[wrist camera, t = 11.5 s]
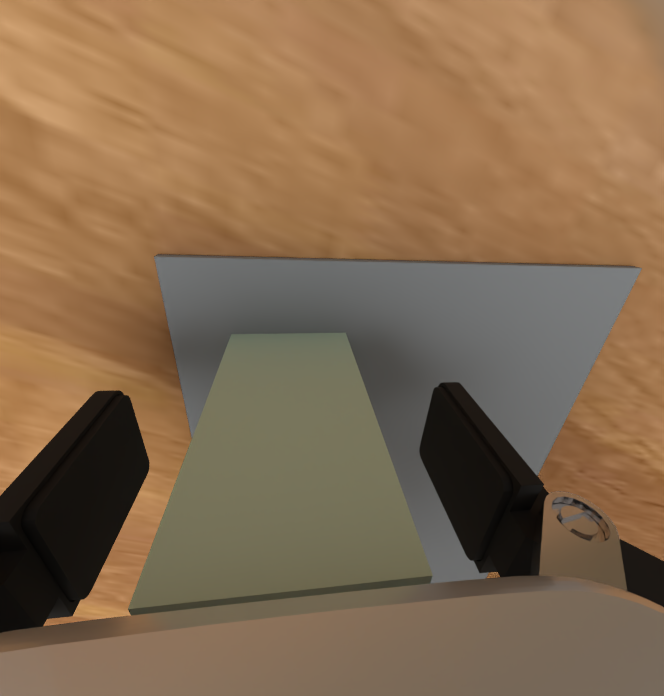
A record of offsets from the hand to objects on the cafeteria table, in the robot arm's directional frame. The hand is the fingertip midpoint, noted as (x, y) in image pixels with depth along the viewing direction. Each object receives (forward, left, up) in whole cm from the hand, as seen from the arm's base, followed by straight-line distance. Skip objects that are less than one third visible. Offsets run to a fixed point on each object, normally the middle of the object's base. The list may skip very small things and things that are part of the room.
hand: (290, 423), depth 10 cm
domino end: (0, 0, -5) cm, 5 cm away
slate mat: (-9, +5, -5) cm, 12 cm away
